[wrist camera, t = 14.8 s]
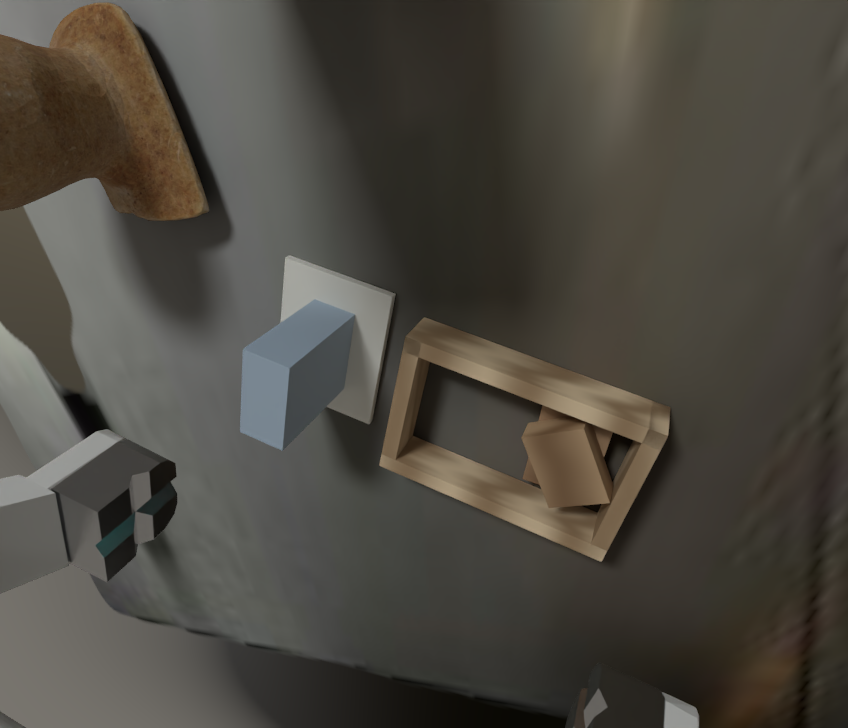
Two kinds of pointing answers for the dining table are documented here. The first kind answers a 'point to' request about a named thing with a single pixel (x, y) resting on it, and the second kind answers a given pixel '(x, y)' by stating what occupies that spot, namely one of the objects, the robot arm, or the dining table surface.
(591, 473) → the offcut upper
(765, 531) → the dining table surface
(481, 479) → the wooden tray
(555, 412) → the offcut lower
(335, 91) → the dining table surface
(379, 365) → the mat
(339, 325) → the blue grey block
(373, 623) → the dining table surface
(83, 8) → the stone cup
